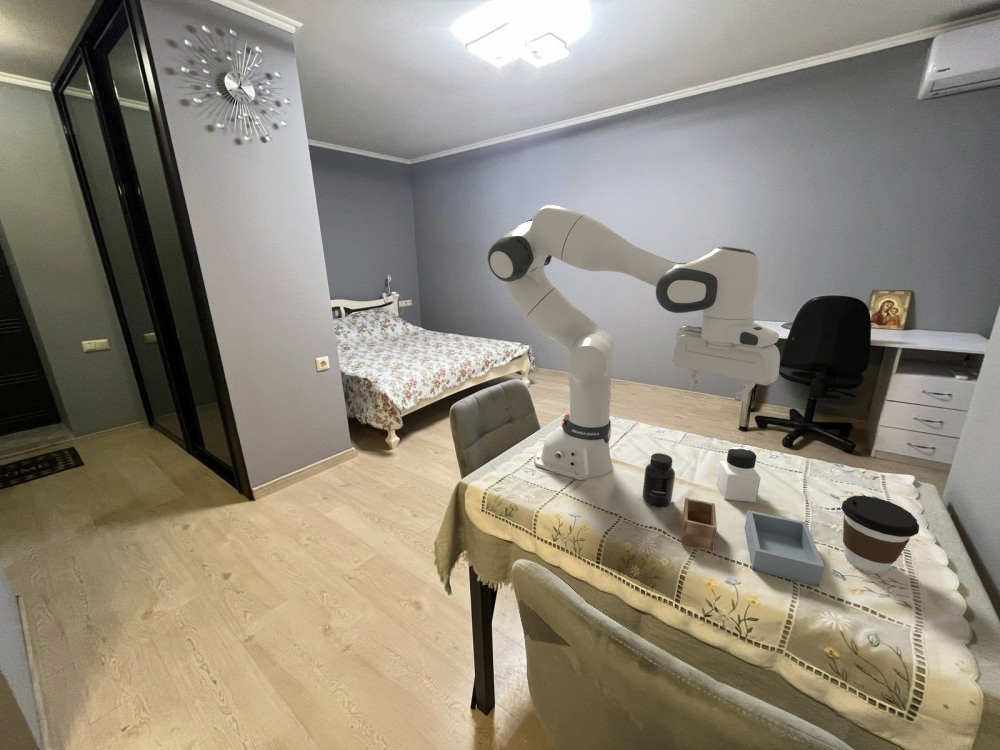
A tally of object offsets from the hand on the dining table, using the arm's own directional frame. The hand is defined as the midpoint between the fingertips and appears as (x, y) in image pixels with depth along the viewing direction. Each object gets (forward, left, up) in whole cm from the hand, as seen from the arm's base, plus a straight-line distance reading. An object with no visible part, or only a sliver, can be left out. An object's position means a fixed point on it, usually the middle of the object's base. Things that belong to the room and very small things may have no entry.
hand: (717, 394), depth 86 cm
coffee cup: (+29, -4, -30) cm, 42 cm away
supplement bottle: (-10, +2, -30) cm, 32 cm away
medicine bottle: (+8, +13, -30) cm, 34 cm away
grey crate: (+14, -8, -30) cm, 34 cm away
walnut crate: (-1, -8, -30) cm, 31 cm away
